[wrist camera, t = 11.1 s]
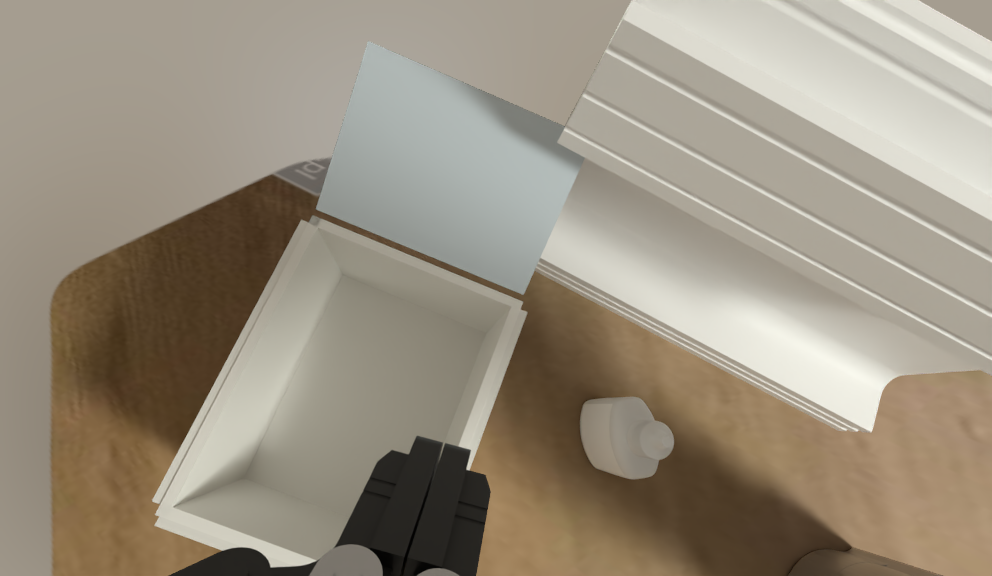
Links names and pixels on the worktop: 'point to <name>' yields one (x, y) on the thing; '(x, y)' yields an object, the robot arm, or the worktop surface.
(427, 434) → the carton
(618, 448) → the eye dropper bottle
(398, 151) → the carton flap
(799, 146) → the white magazine holder
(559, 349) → the worktop surface
